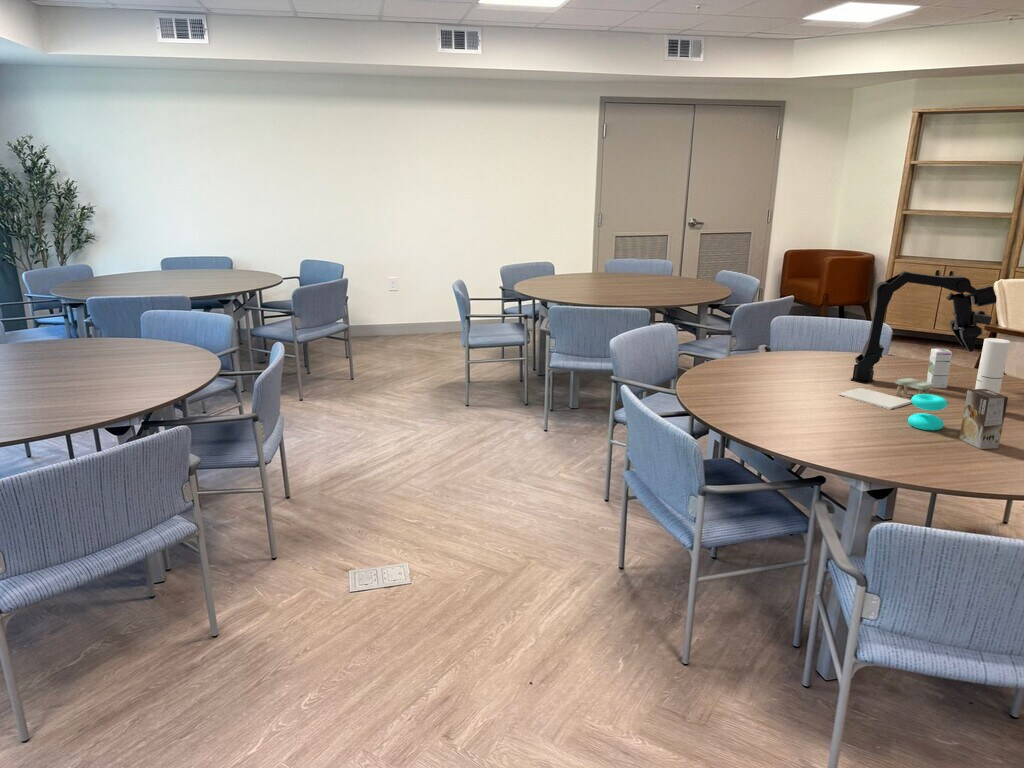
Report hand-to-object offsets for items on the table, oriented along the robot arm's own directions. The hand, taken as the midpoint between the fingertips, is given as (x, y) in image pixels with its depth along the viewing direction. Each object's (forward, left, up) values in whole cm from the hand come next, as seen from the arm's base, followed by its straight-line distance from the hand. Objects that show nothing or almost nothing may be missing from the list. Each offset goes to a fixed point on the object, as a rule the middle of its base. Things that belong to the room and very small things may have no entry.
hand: (967, 348), depth 256 cm
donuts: (+17, -55, -16) cm, 60 cm away
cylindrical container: (+19, -22, -16) cm, 33 cm away
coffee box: (+34, -57, -16) cm, 68 cm away
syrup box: (-6, -5, -16) cm, 18 cm away
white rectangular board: (-9, -41, -15) cm, 45 cm away
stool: (-3, -27, -15) cm, 32 cm away
